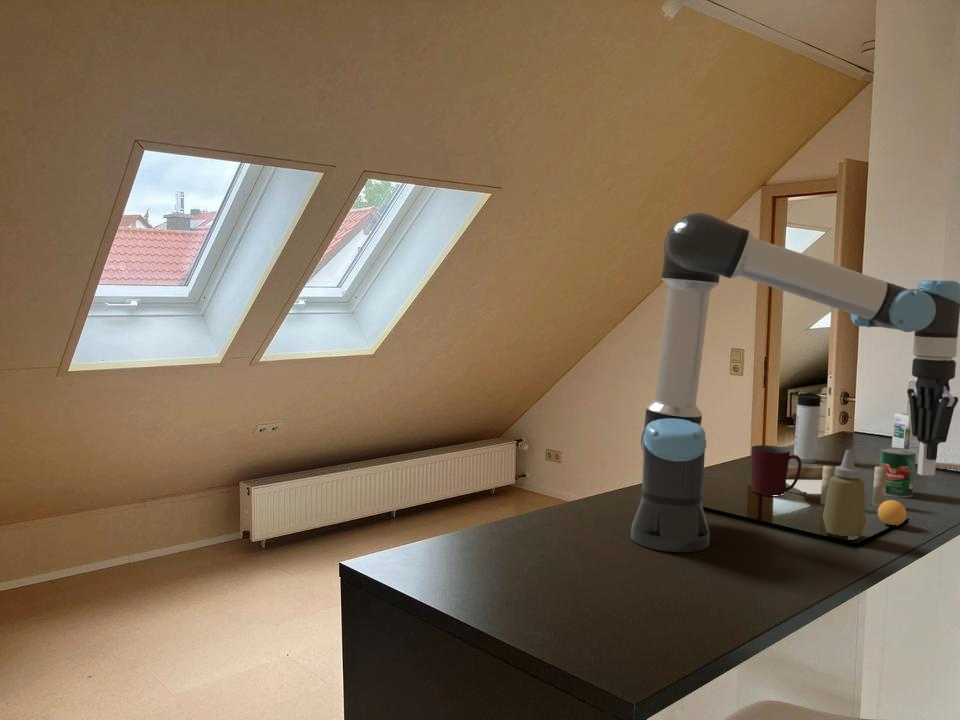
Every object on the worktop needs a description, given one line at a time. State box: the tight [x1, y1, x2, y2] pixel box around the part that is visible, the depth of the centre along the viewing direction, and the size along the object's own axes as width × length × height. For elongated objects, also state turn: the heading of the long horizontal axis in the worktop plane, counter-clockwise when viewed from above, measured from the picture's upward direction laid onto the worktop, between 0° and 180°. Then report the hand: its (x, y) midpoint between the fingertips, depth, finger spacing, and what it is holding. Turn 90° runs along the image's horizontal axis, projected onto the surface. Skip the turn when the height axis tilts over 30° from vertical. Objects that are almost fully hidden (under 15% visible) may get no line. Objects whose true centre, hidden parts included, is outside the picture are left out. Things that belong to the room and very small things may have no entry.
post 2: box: [871, 465, 887, 507], centre depth 188 cm, size 3×3×9 cm
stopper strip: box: [786, 465, 824, 480], centre depth 213 cm, size 16×2×3 cm, turn 93°
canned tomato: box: [879, 446, 916, 498], centre depth 199 cm, size 8×8×11 cm
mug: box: [750, 444, 802, 495], centre depth 195 cm, size 12×9×11 cm
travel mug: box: [793, 392, 822, 464], centre depth 234 cm, size 6×7×20 cm
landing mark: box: [786, 479, 822, 495], centre depth 204 cm, size 14×14×1 cm
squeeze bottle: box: [822, 449, 866, 537], centre depth 162 cm, size 8×8×18 cm
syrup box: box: [891, 412, 919, 465], centre depth 235 cm, size 6×6×14 cm
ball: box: [877, 499, 907, 527], centre depth 172 cm, size 6×6×6 cm
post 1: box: [820, 465, 836, 503], centre depth 187 cm, size 3×3×9 cm
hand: (926, 474), depth 161 cm, fingers closed
